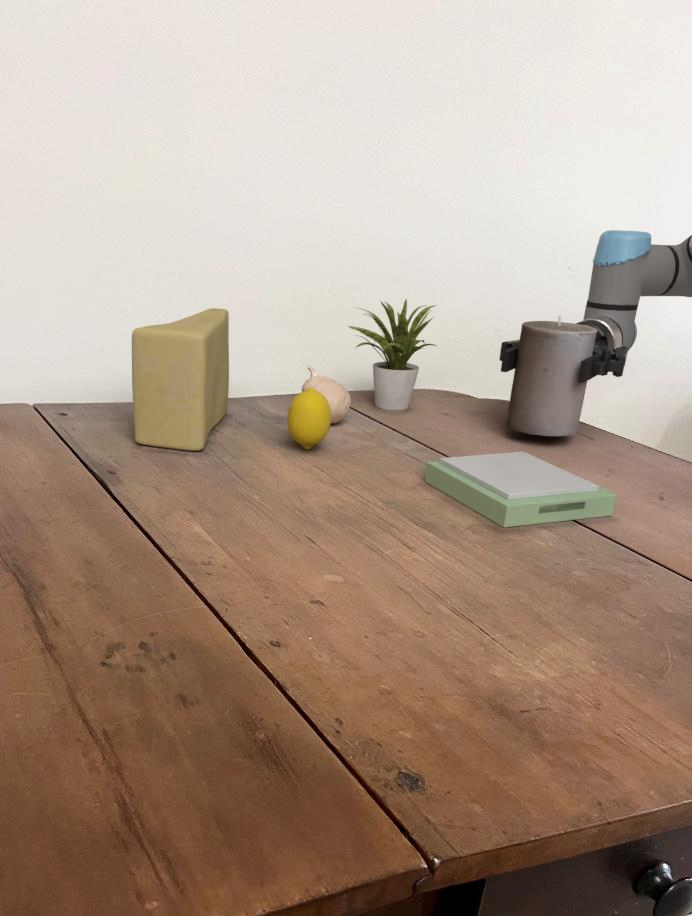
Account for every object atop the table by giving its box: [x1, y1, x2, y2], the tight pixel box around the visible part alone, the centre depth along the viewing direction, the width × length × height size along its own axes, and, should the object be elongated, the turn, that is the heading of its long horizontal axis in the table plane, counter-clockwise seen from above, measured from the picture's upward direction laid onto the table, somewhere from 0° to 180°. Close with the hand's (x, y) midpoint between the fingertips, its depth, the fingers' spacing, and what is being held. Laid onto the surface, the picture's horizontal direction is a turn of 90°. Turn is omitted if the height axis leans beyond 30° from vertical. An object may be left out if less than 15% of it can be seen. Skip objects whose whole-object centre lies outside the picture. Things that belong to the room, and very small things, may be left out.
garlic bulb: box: [301, 364, 352, 424], centre depth 130 cm, size 7×6×8 cm
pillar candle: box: [505, 315, 597, 437], centre depth 124 cm, size 10×10×15 cm
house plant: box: [347, 298, 439, 411], centre depth 140 cm, size 14×14×16 cm
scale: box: [424, 451, 618, 528], centre depth 103 cm, size 16×14×3 cm
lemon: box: [286, 388, 332, 450], centre depth 117 cm, size 6×6×8 cm
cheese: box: [131, 307, 230, 452], centre depth 123 cm, size 22×10×15 cm, turn 162°
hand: (542, 366), depth 120 cm, fingers closed on pillar candle, 9 cm apart
